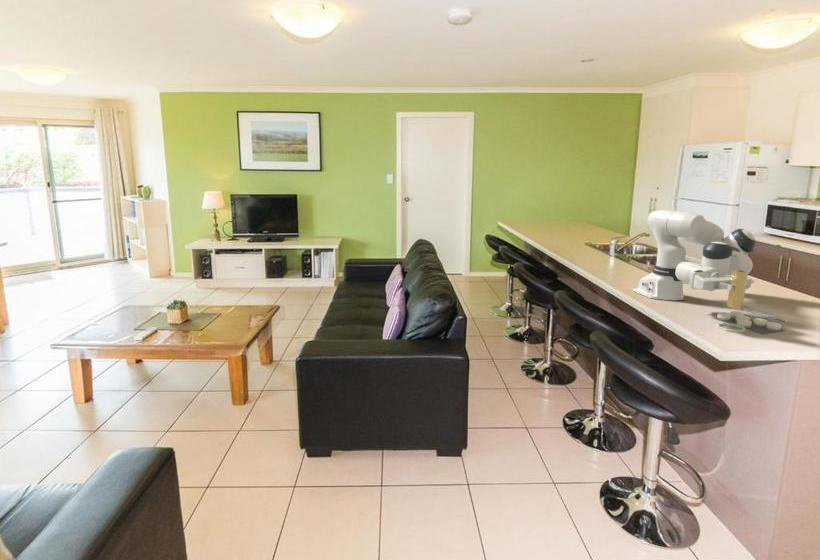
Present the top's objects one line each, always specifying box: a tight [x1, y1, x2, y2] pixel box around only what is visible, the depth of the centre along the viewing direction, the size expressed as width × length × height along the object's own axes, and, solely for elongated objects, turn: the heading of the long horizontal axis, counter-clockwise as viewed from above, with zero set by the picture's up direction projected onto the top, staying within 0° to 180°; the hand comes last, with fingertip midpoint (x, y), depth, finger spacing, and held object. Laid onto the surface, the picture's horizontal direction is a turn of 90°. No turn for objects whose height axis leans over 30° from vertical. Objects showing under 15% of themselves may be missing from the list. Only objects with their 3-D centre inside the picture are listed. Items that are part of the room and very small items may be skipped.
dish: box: [715, 322, 747, 334], centre depth 180 cm, size 9×9×2 cm
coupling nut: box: [726, 270, 749, 309], centre depth 177 cm, size 4×5×13 cm
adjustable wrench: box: [739, 304, 786, 324], centre depth 199 cm, size 25×6×2 cm, turn 177°
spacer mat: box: [712, 310, 787, 335], centre depth 185 cm, size 20×12×3 cm, turn 19°
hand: (739, 287), depth 176 cm, fingers closed on coupling nut, 4 cm apart
